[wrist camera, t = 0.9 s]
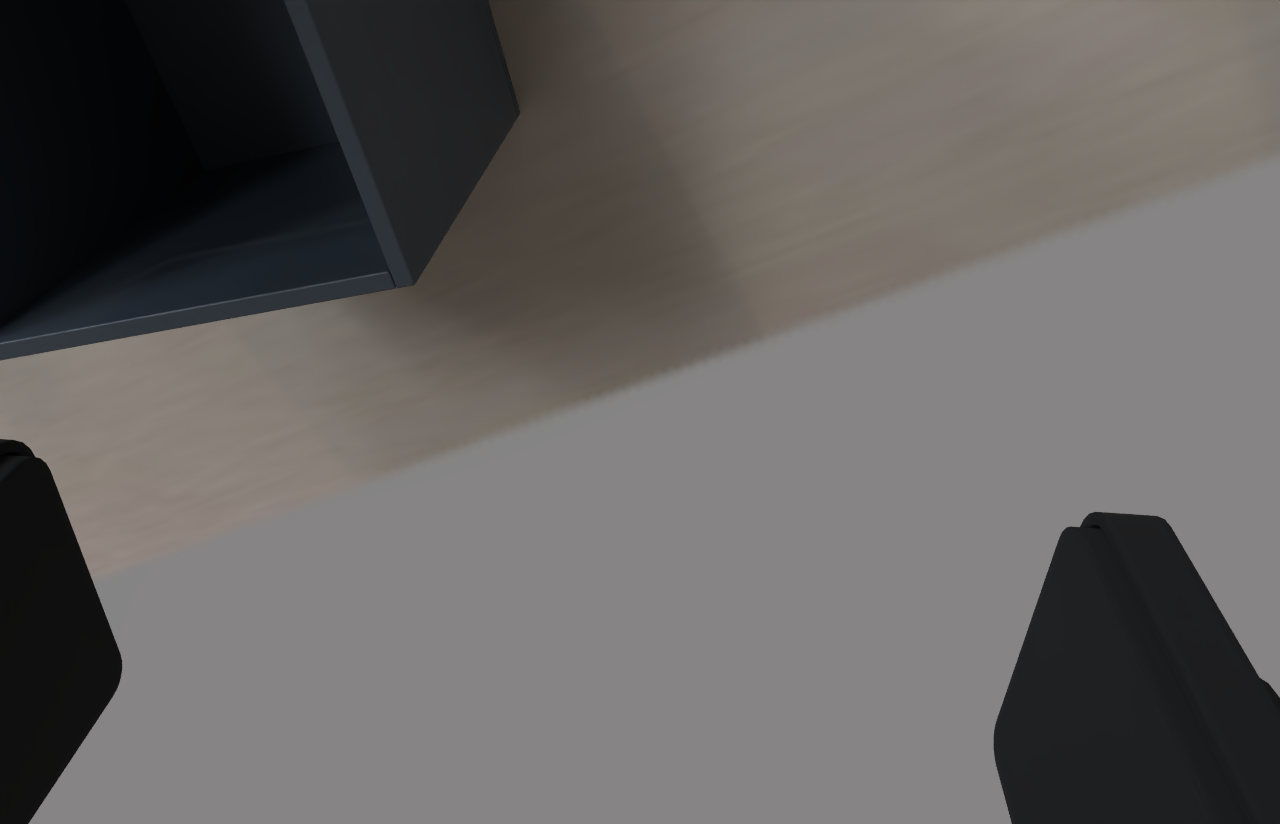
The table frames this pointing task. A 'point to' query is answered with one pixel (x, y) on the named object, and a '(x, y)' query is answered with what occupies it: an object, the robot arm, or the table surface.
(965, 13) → the table surface
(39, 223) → the box
